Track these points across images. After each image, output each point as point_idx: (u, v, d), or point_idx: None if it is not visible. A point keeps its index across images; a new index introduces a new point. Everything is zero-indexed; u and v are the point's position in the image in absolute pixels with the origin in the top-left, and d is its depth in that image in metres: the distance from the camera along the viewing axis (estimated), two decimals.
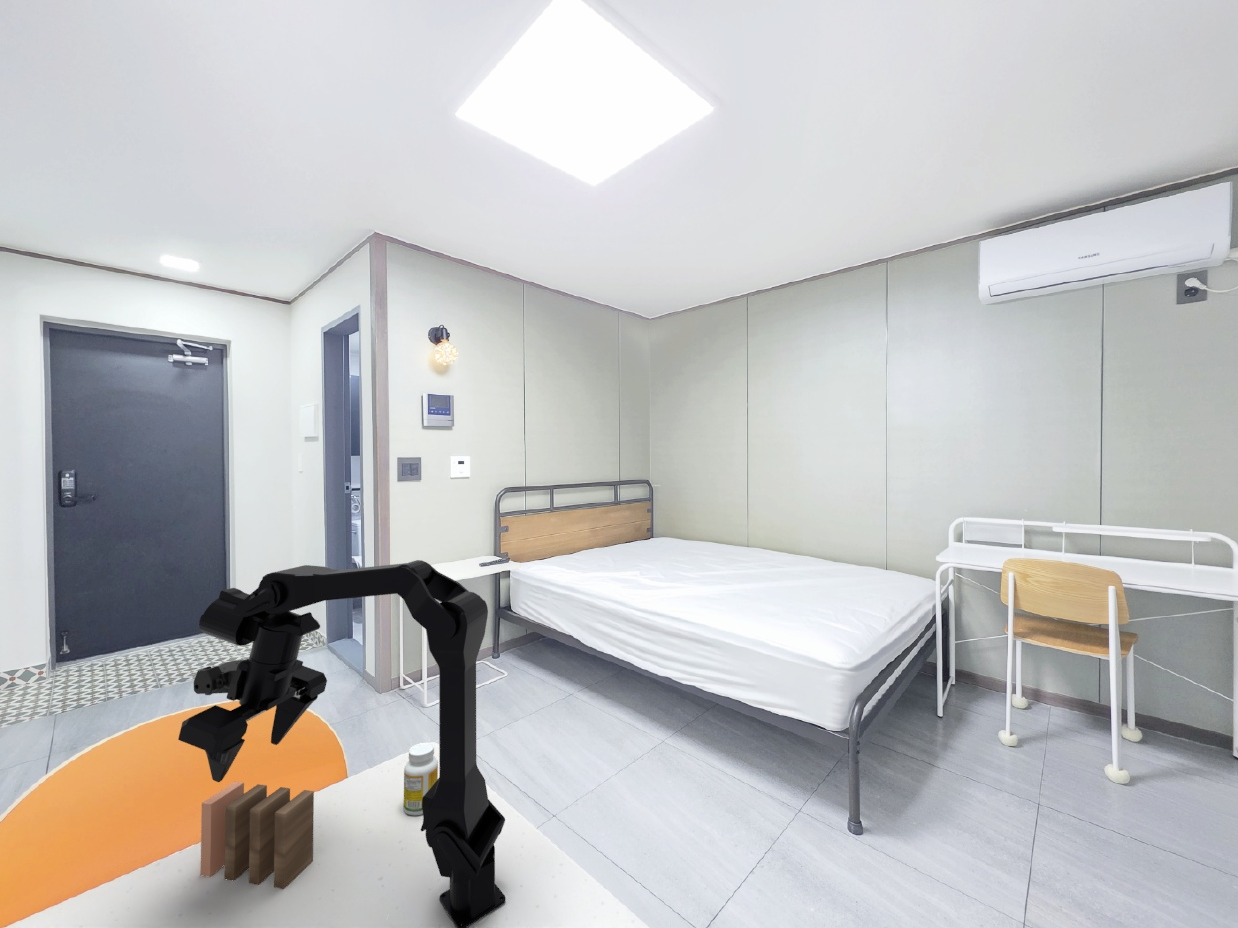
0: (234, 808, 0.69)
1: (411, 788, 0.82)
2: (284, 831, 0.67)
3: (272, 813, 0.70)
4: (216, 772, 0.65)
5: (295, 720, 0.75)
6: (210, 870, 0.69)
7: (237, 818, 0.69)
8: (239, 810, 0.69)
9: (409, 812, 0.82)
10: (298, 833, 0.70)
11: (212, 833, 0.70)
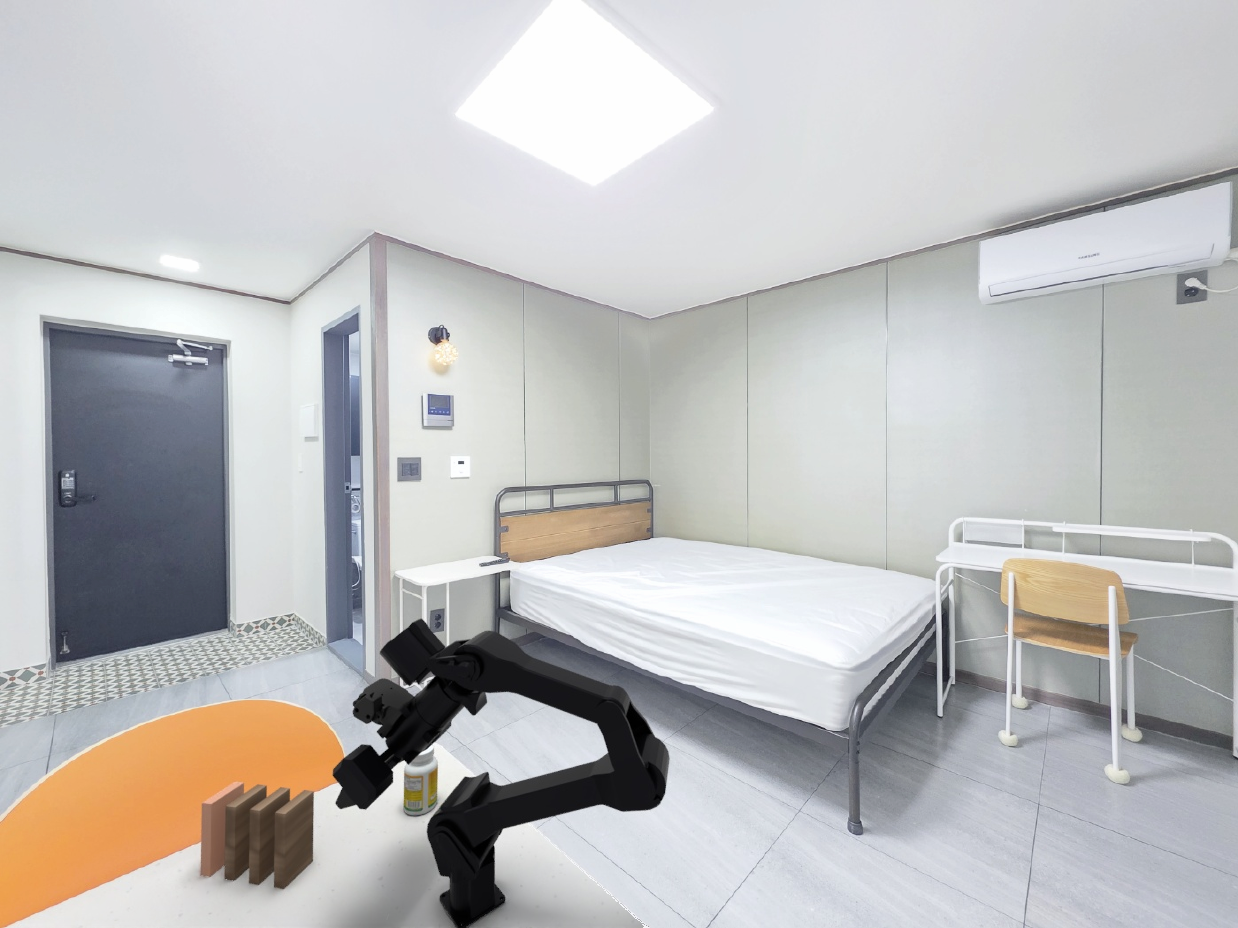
0: (234, 808, 0.69)
1: (411, 788, 0.82)
2: (284, 831, 0.67)
3: (272, 813, 0.70)
4: (343, 801, 0.63)
5: None
6: (210, 870, 0.69)
7: (237, 818, 0.69)
8: (239, 810, 0.70)
9: (409, 812, 0.82)
10: (298, 833, 0.70)
11: (212, 833, 0.70)
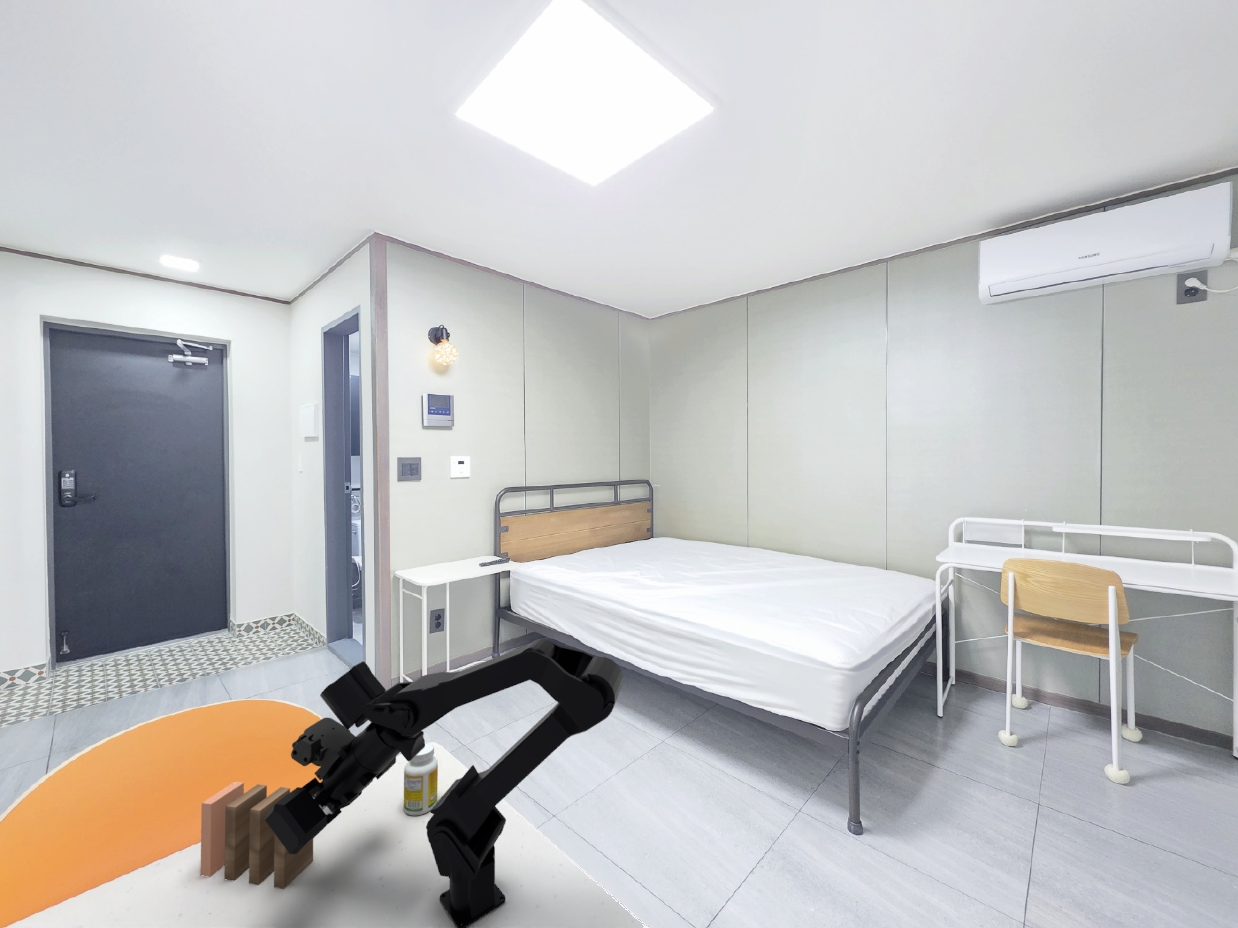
0: (234, 808, 0.69)
1: (411, 788, 0.82)
2: None
3: None
4: None
5: None
6: (210, 870, 0.69)
7: (237, 818, 0.69)
8: (239, 810, 0.69)
9: (409, 812, 0.82)
10: None
11: (212, 833, 0.70)
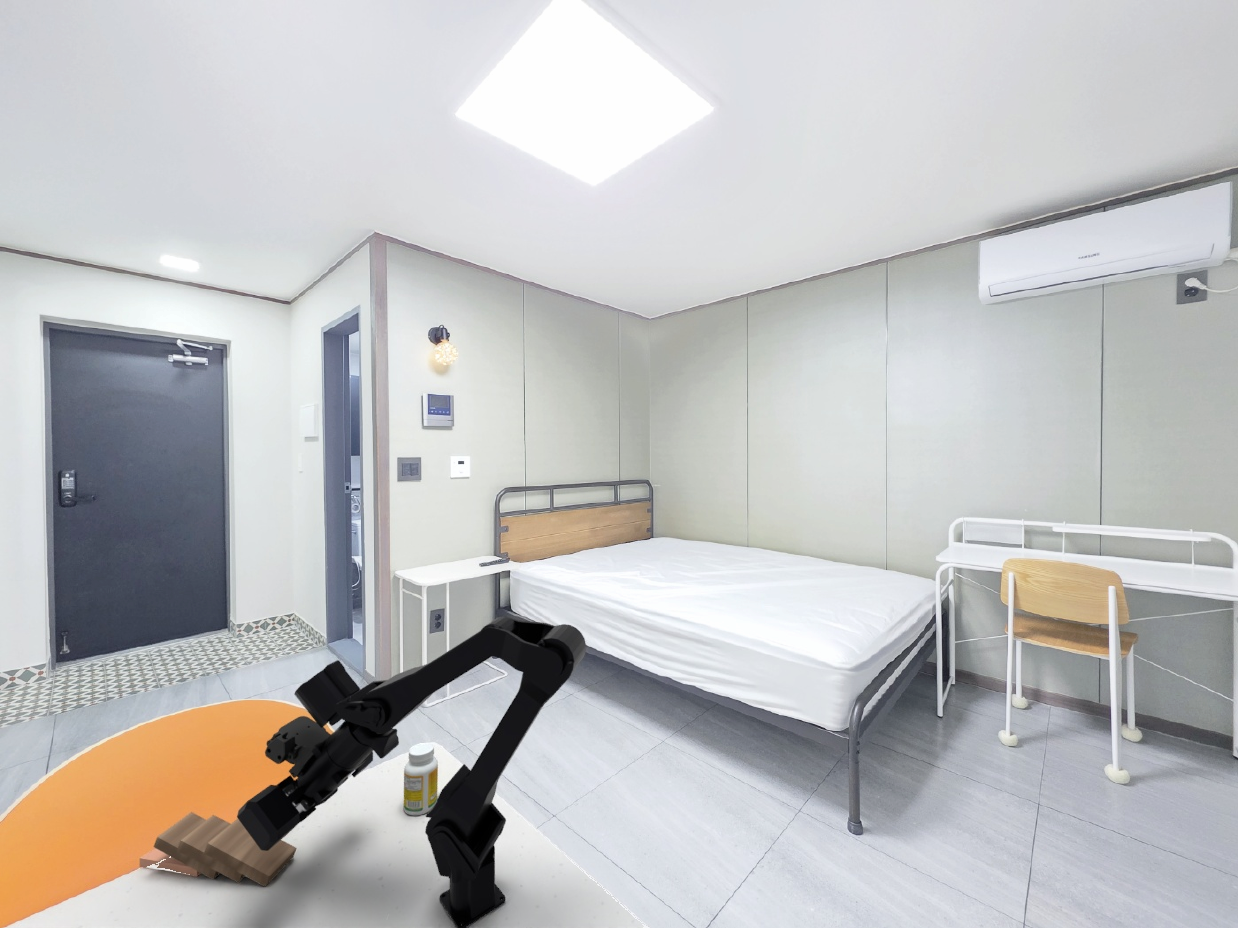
0: (158, 838, 0.70)
1: (411, 788, 0.82)
2: (221, 851, 0.68)
3: (205, 834, 0.71)
4: None
5: None
6: None
7: (170, 840, 0.70)
8: (167, 836, 0.70)
9: (409, 812, 0.82)
10: (246, 844, 0.70)
11: (165, 860, 0.71)
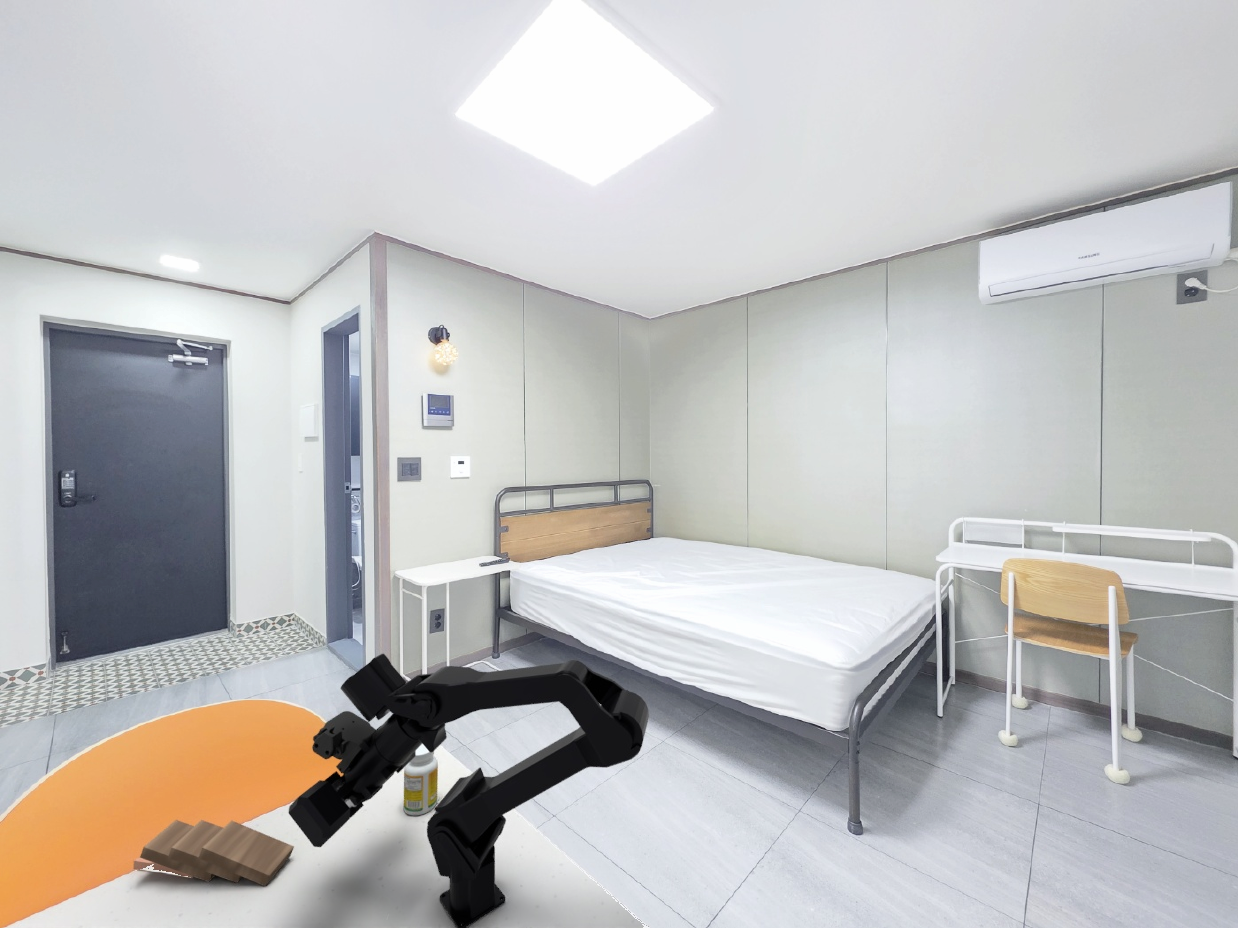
0: (144, 848, 0.68)
1: (411, 788, 0.82)
2: (217, 854, 0.68)
3: (196, 839, 0.70)
4: None
5: None
6: None
7: (158, 849, 0.69)
8: (154, 845, 0.69)
9: (409, 812, 0.82)
10: (242, 845, 0.70)
11: None
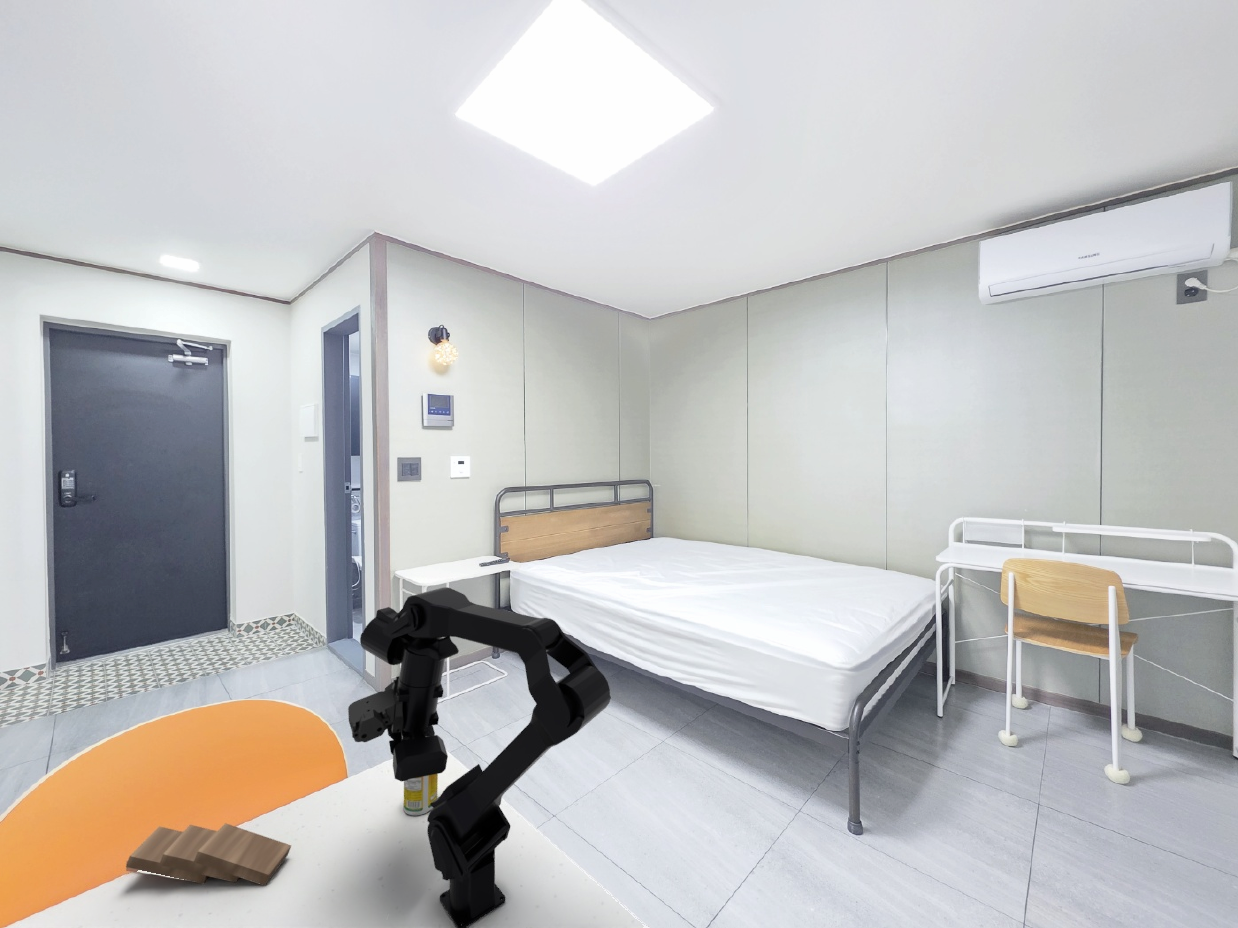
0: (130, 857, 0.67)
1: (411, 788, 0.82)
2: (214, 857, 0.67)
3: (188, 844, 0.69)
4: None
5: None
6: None
7: (145, 856, 0.67)
8: (140, 853, 0.67)
9: (409, 812, 0.82)
10: (239, 847, 0.70)
11: None
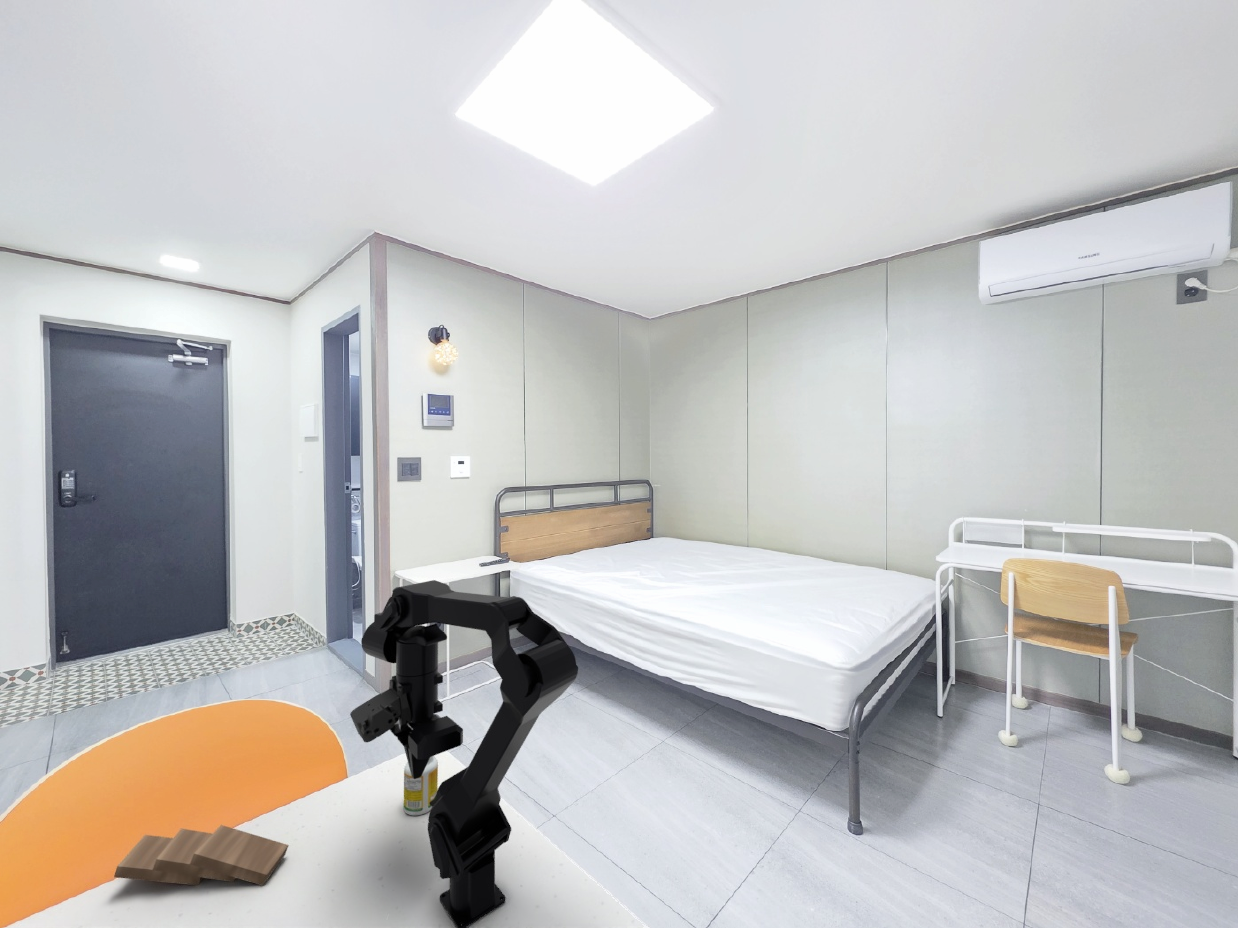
0: (118, 867, 0.66)
1: (411, 788, 0.82)
2: (210, 858, 0.67)
3: (181, 847, 0.69)
4: (420, 768, 0.72)
5: None
6: None
7: (134, 865, 0.66)
8: (128, 862, 0.66)
9: (409, 812, 0.82)
10: (236, 848, 0.70)
11: None
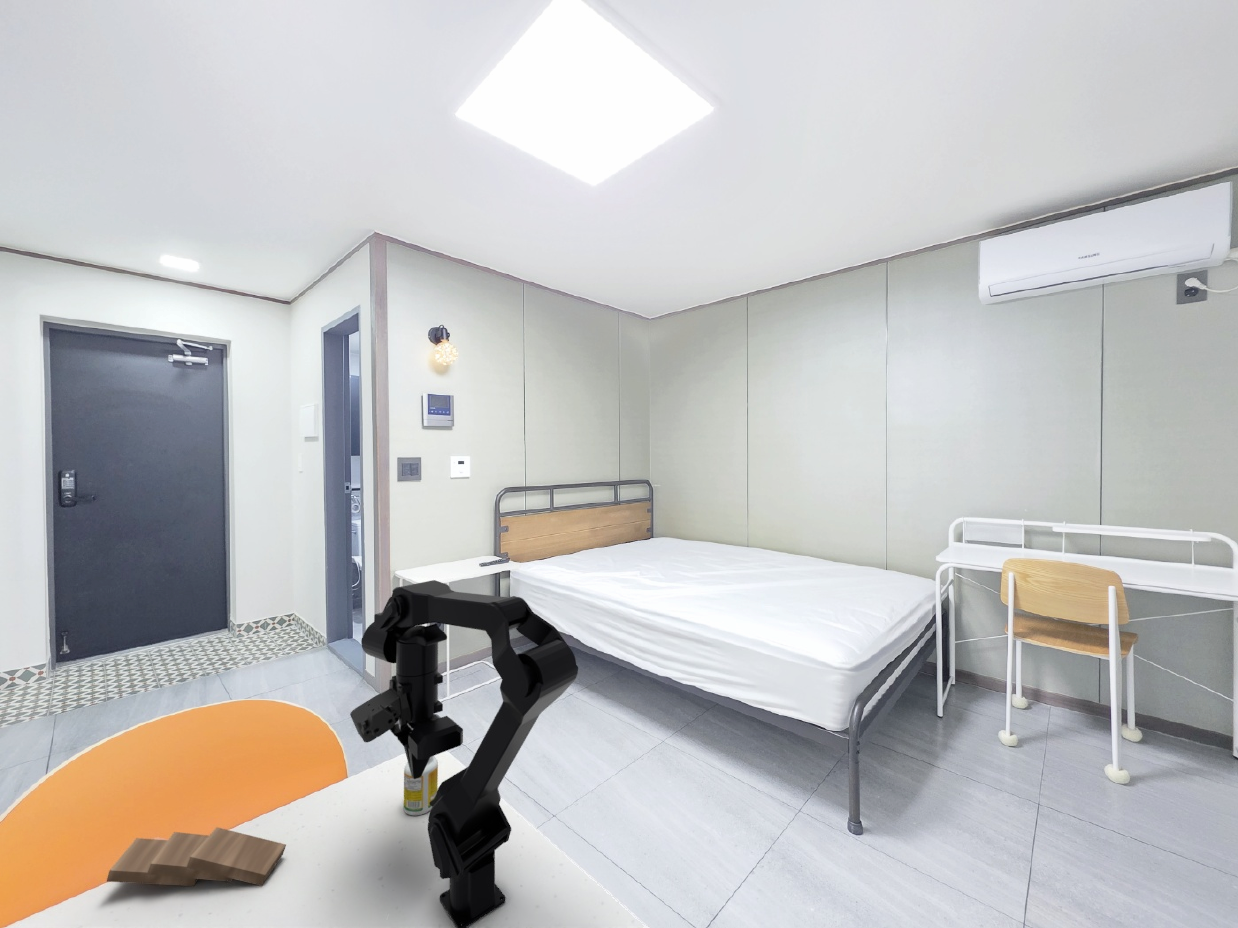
0: (111, 871, 0.65)
1: (411, 788, 0.82)
2: (207, 861, 0.67)
3: (176, 850, 0.68)
4: (420, 768, 0.72)
5: None
6: None
7: (127, 868, 0.66)
8: (121, 866, 0.66)
9: (409, 812, 0.82)
10: (232, 850, 0.69)
11: None
